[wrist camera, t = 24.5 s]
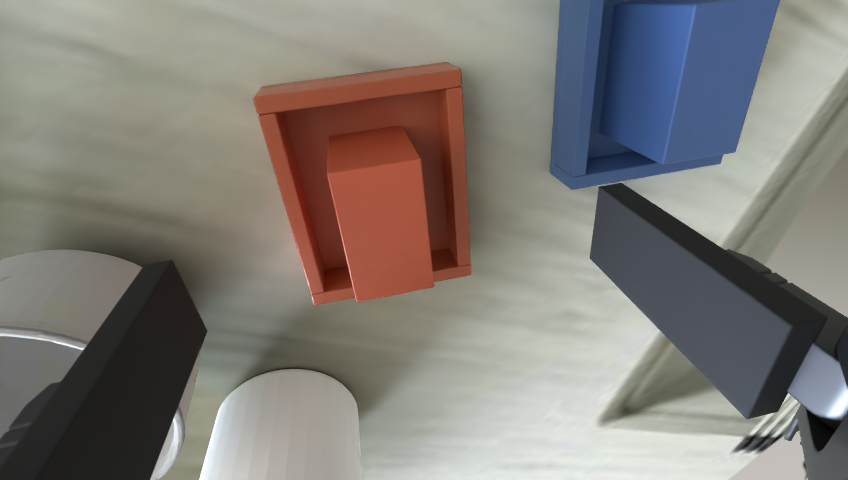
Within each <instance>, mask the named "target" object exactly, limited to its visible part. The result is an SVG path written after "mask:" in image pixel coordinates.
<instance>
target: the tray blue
mask: <svg viewBox="0 0 848 480" xmlns="http://www.w3.org/2000/svg"><path fill="white" fill-rule="evenodd" d="M637 1H645V0H560V15H559V31H558V48H557V65H556V81H555V98H554V114H553V131H552V148H551V164H550V173H551V174H552V175H553V176H555V177H556V178H557V179H559V180H560V181H561V182H562V183H564V184H565V185H566V186H568V187H569V188H570V189H572V190H573V189H579V188H585V187H590V186H596V185H602V184H607V183H613V182H619V181H625V180H630V179H636V178H642V177H647V176H653V175H659V174H664V173H670V172H676V171H681V170H687V169H693V168H699V167H704V166H710V165H716V164H720V163H721V160H722V156H723V154H722V155H717V156H711V157H705V158H699V159H693V160H687V161H682V162H676V163H670V164H664V165H663V164H660V163H658V162H656V161H654V160H652V159H650V158H648V157H646V156H644V155H642V154H640V153H638V152H636V151H634V150H632V149H629V148H627V147H625V146H623V145H621V144H619V143H617V142H615V141H613V140H611V139H609V138H607V137H605V136H603V135H601V134H600V133H599V131H600V123H601V114H602V106H603V97H604V89H605V81H606V72H607V64H608V55H609V47H610V39H611V30H612V22H613V13H614V6H615V5H616V4H620V3H629V2H637Z"/></svg>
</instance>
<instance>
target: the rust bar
mask: <svg viewBox="0 0 848 480" xmlns="http://www.w3.org/2000/svg"><path fill="white" fill-rule="evenodd" d="M327 176H328V181H329V185H330V189H331V194H332V198H333V202H334V207H335V211H336V216H337V220H338V224H339V229H340V233H341V237H342V242H343V246H344V251H345V255H346V259H347V264H348V268H349V272H350V277H351V281H352V286H353V290H354V294H355V299H356V302H360V301H365V300H370V299H375V298H380V297H385V296H390V295H395V294H400V293H405V292H411V291H416V290H421V289H426V288H431V287H434V279H433V269H432V259H431V250H430V240H429V231H428V221H427V212H426V202H425V193H424V183H423V173H422V164H421V159H420V157H419V155H418V153H417V152H416V150H415V148H414V146H413V145H412V143H411V141H410V139H409V138H408V136H407V134H406V132H405V131H404V129H403V127H402V126H395V127H388V128H382V129H375V130H368V131H361V132H355V133H348V134H341V135H335V136H329V137H328V160H327Z"/></svg>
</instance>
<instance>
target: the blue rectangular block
mask: <svg viewBox="0 0 848 480" xmlns="http://www.w3.org/2000/svg"><path fill="white" fill-rule="evenodd" d="M779 1H780V0H645V1H637V2H629V3H620V4H616V5H615V6H614V13H613V22H612V30H611V39H610V47H609V55H608V64H607V72H606V81H605V89H604V97H603V106H602V114H601V123H600V131H599V133H600V134H601V135H603V136H605V137H607V138H609V139H611V140H613V141H615V142H617V143H619V144H621V145H623V146H625V147H627V148H629V149H632V150H634V151H636V152H638V153H640V154H642V155H644V156H646V157H648V158H650V159H652V160H654V161H656V162H658V163H660V164H663V165H664V164H670V163H676V162H682V161H687V160H693V159H699V158H705V157H711V156H717V155H722V154H728V153H734V152H735V151H736V148H737V144H738V141H739V137H740V134H741V130H742V127H743V124H744V120H745V117H746V113H747V110H748V107H749V103H750V100H751V96H752V93H753V89H754V86H755V83H756V79H757V76H758V72H759V69H760V66H761V62H762V59H763V55H764V52H765V49H766V45H767V42H768V38H769V35H770V31H771V28H772V25H773V21H774V18H775V14H776V11H777V8H778V4H779Z"/></svg>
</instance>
